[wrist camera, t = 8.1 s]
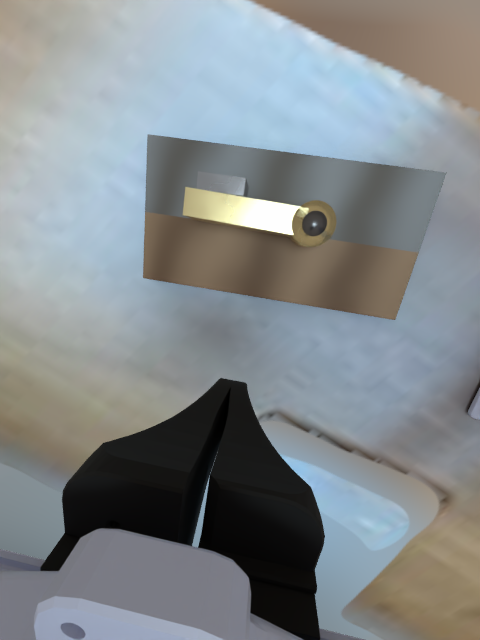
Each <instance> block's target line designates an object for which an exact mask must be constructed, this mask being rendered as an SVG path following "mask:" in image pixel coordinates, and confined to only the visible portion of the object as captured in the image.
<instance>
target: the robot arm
mask: <svg viewBox="0 0 480 640" xmlns="http://www.w3.org/2000/svg"><path fill="white" fill-rule="evenodd" d="M468 414H469V415H470V416H471V417H472V418H474V419H479V420H480V388H479V390H478V392H477V394H476V396H475V398H474V400H473V402H472V404H471V406H470V408H469V410H468ZM217 452H218V453H217ZM216 455H217V456H216ZM215 458H216V459H215ZM214 461H215V462H214ZM213 463H214V465H213ZM212 466H213V468H212ZM211 469H212V471H211ZM210 472H211V473H210ZM209 475H210V479H209V486H208V493H207V500H206V506H205V513H204V520H203V527H202V534H201V538H200V542H199V546H198V548H197V547H193V546H192V543H193V539H194V534H195V530H196V526H197V522H198V517H199V513H200V509H201V505H202V501H203V497H204V493H205V489H206V485H207V482H208V478H209ZM62 503H63V514H64V525H65V534H64V535H63V536H62V538H61V539H60V541H59V542H58V543H57V545H56V546H55V548H54V549H53V551H52V552H51V553H50V555H49V556H48V557H47V559H46V560H42V559H38V558H34V557H31V556H27V555H23V554H19V553H15V552H11V551H7V550H2V549H0V640H364V639H359V638H356V637H352V636H348V635H344V634H340V633H335V632H332V631H328V630H324V629H320V628H319V625H318V616H317V609H316V602H315V594H316V591H317V584H316V576H315V567H316V565H317V562H318V559H319V556H320V553H321V551H322V548H323V544H324V538H325V535H324V529H323V524H322V519H321V516H320V512H319V509H318V506H317V503H316V500H315V497H314V494H313V491H312V489H311V487H310V486H309V485H308V484H307V483H306V482H305V481H304V480H303V479H302V478H301V477H300V476H298V475H297V474H296V473H295V472H294V471H293V470H292V469H291V468H290V466H289V465H288V464H287V463H286V462H285V461H284V460H283V459H282V457H281V456H280V455H279V453H278V452H277V451H276V450H275V448H274V447H273V446H272V444H271V443H270V441H269V440H268V438H267V436H266V435H265V433H264V431H263V429H262V428H261V426H260V424H259V422H258V419H257V417H256V415H255V413H254V410H253V407H252V405H251V402H250V399H249V395H248V390H247V384H246V383H244V382H239V381H233V380H228V379H223V378H221V379H219V380H218V381H217V382H216V383H215V384H214V385H213V386H212V387H211V388H210V389H209V390H208V391H207V392H206V393H205V394H204V395H203V396H201V397H200V398H199V399H198V400H197V401H195V402H194V403H193V404H191V405H190V406H189V407H187V408H186V409H184V410H183V411H181V412H180V413H178V414H177V415H175V416H173V417H172V418H170V419H168V420H166V421H164V422H162V423H160V424H158V425H156V426H153V427H151V428H149V429H146V430H144V431H141V432H138V433H135V434H133V435H130V436H126V437H123V438H119V439H116V440H113V441H109V442H105V443H103V444H102V445H101V446H100V447H99V448H98V449H97V450H96V451H95V452H94V453H93V454H92V455H91V456H90V457H89V458H88V459H87V460H86V461H85V462H84V464H83V465H82V466H81V467H80V468H79V469H78V471H77V472H76V473H75V474H74V475H73V476H72V478H71V479H70V480H69V481H68V482H67V484H66V486H65V488H64V490H63V497H62Z"/></svg>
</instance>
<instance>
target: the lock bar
mask: <svg viewBox="0 0 480 640" xmlns="http://www.w3.org/2000/svg"><path fill="white" fill-rule="evenodd" d="M183 215H184V216H186V217H189V218H191V219H194V220H198V221H203V222H209V223H214V224H220V225H225V226H231V227H236V228H242V229H247V230H253V231H259V232H264V233H270V234H275V235H281V236H286V237H290V239H291V240H292V241H293V242H294V243H295V244H296V245H298V246H301V247H316V246H320V245H322V244H324V243H325V242H327V241H328V240H329V239H330V238H331V237H332V235H333V233H334V231H335V228H336V223H337V220H336V215H335V212H334V210H333V208H332V207H331V206H330V205H329V204H327V203H326V202H323V201H320V200H312V201H309V202H306V203H304V204H303V205H301V206H300V207H299V206H293V205H288V204H282V203H276V202H270V201H265V200H259V199H253V198H247V197H241V196H236V195H230V194H224V193H218V192H213V191H207V190H201V189H195V188H189V187H185V196H184V207H183Z"/></svg>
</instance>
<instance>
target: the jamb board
mask: <svg viewBox="0 0 480 640" xmlns="http://www.w3.org/2000/svg"><path fill="white" fill-rule="evenodd" d="M198 171H199V172H206V173H214V174H221V175H228V176H236V177H243V178H246V180H247V183H248V186H249V189H248V196H247V198H253V199H259V200H265V201H270V202H276V203H282V204H288V205H293V206H299V207H300V206H301V205H303V204H304V203H306V202H309V201H312V200H320V201H323V202H326V203H327V204H329V205H330V206H331V207H332V208H333V210H334V212H335V215H336V220H337V223H336V228H335V231H334V233H333V235H332V237H331V238H330V239H329V240H328V241H327V242H325V243H324V244H322V245H320V246H316V247H301V246H298V245H296V244H295V243H294V242H293V241H292V240H291V239H290V237H286V236H281V235H275V234H270V233H264V232H259V231H253V230H247V229H242V228H236V227H231V226H225V225H220V224H214V223H209V222H203V221H198V220H194V219H191V218H189V217H186V216H184V215H183V207H184V196H185V187H189V188H195V189H196V188H197V177H198ZM445 175H446V173H444V172H437V171H429V170H421V169H413V168H405V167H398V166H390V165H382V164H374V163H366V162H359V161H351V160H343V159H335V158H328V157H320V156H312V155H304V154H296V153H289V152H281V151H273V150H265V149H257V148H250V147H242V146H234V145H226V144H218V143H211V142H203V141H195V140H187V139H179V138H172V137H164V136H156V135H148V139H147V171H146V203H145V235H144V267H143V278H147V279H153V280H159V281H165V282H171V283H177V284H183V285H189V286H195V287H201V288H207V289H213V290H219V291H225V292H231V293H237V294H243V295H248V296H254V297H260V298H266V299H272V300H278V301H284V302H290V303H296V304H302V305H308V306H314V307H320V308H326V309H332V310H338V311H344V312H350V313H356V314H362V315H368V316H374V317H380V318H386V319H392V320H395V319H396V316H397V313H398V310H399V307H400V304H401V302H402V299H403V296H404V293H405V290H406V287H407V284H408V282H409V279H410V276H411V273H412V270H413V267H414V264H415V261H416V259H417V256H418V253H419V250H420V247H421V244H422V241H423V238H424V236H425V233H426V230H427V227H428V224H429V221H430V218H431V215H432V213H433V210H434V207H435V204H436V201H437V198H438V195H439V192H440V190H441V187H442V184H443V181H444V178H445Z"/></svg>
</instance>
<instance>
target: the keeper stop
mask: <svg viewBox="0 0 480 640" xmlns="http://www.w3.org/2000/svg"><path fill="white" fill-rule="evenodd" d="M196 189H201V190H207V191H213V192H218V193H224V194H230V195H236V196H241V197H247V196H248V189H249V186H248V183H247V180H246V178H243V177H236V176H228V175H221V174H214V173H206V172H199V171H198V177H197V188H196Z"/></svg>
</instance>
